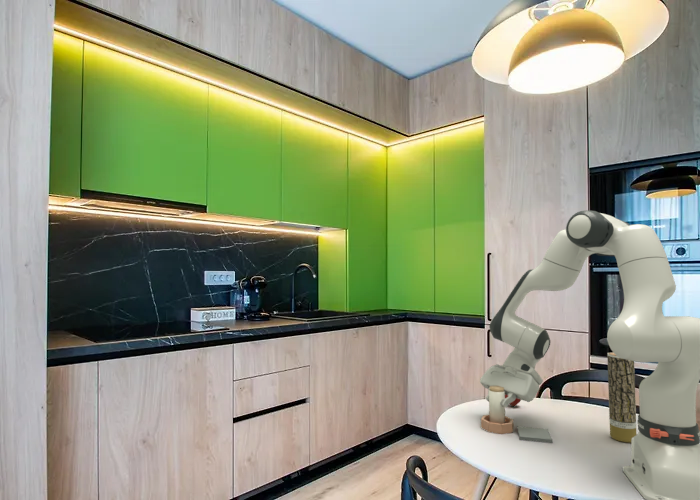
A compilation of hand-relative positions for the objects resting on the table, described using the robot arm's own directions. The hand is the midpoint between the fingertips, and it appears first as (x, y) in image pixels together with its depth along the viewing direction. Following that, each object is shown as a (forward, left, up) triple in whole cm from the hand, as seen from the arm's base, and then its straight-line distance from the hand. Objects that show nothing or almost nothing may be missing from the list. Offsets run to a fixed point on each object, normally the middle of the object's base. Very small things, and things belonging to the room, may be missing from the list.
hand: (495, 403), depth 139 cm
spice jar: (+1, 0, -6) cm, 6 cm away
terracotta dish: (+1, 0, -8) cm, 8 cm away
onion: (+27, -2, -8) cm, 28 cm away
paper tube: (+8, -35, -8) cm, 37 cm away
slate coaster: (-1, -11, -8) cm, 14 cm away
